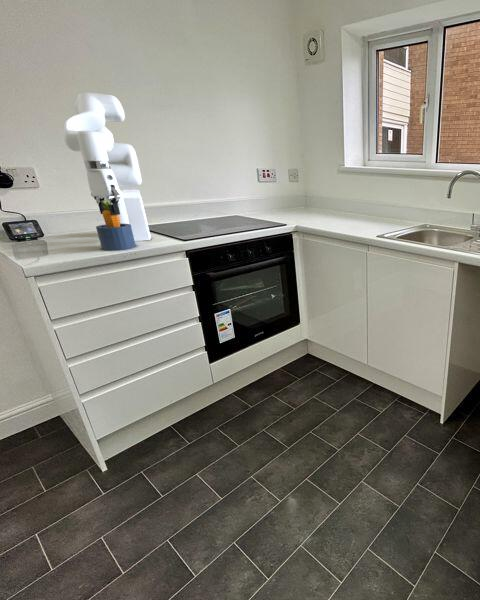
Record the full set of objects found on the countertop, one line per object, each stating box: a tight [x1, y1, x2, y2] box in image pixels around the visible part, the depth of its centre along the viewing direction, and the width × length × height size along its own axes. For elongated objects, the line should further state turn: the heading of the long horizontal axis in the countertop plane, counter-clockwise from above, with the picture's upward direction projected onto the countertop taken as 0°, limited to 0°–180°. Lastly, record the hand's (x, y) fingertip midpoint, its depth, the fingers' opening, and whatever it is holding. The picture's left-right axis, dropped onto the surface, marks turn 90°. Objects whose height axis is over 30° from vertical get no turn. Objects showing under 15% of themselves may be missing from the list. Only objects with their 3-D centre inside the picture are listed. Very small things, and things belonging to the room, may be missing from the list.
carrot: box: [101, 201, 120, 228], centre depth 142 cm, size 5×5×15 cm
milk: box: [122, 189, 152, 242], centre depth 157 cm, size 6×6×22 cm
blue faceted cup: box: [95, 223, 137, 252], centre depth 144 cm, size 11×11×9 cm
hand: (110, 213), depth 141 cm, fingers closed on carrot, 4 cm apart
